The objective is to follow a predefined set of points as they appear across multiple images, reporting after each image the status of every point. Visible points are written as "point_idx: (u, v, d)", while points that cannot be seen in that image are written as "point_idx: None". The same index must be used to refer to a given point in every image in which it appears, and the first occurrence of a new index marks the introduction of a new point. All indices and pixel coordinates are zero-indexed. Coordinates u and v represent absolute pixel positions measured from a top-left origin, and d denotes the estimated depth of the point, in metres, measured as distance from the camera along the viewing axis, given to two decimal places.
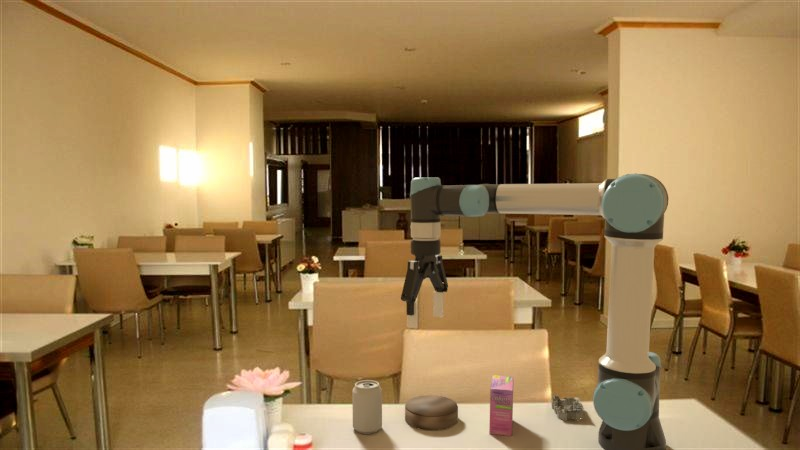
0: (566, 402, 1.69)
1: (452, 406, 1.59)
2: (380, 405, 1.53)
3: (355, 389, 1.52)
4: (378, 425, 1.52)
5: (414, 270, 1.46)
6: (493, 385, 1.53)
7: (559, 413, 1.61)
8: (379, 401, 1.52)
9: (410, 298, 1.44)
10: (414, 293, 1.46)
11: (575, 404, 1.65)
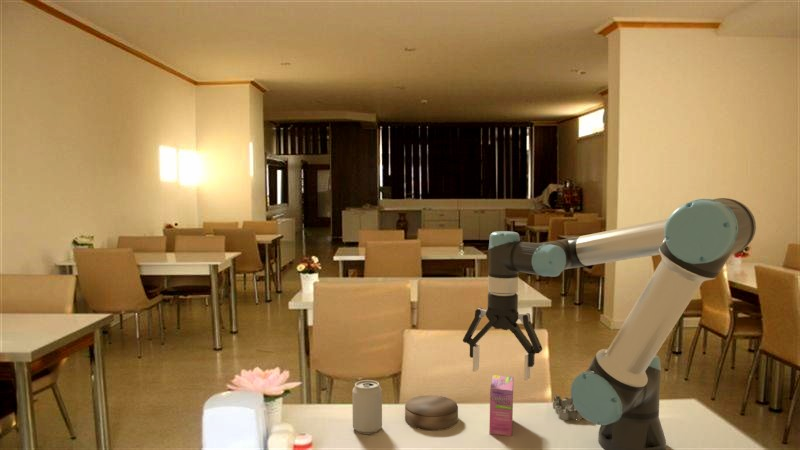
0: (567, 402, 1.69)
1: (452, 406, 1.59)
2: (380, 405, 1.53)
3: (355, 389, 1.52)
4: (378, 425, 1.52)
5: None
6: (493, 385, 1.53)
7: (560, 413, 1.61)
8: (379, 401, 1.52)
9: (464, 340, 1.57)
10: (473, 338, 1.57)
11: None
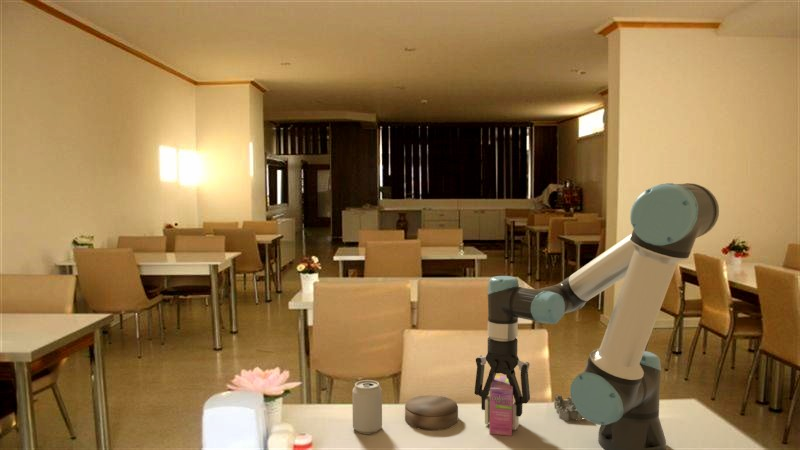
0: (569, 402, 1.69)
1: (452, 406, 1.59)
2: (380, 405, 1.53)
3: (355, 389, 1.52)
4: (378, 425, 1.52)
5: None
6: (493, 385, 1.53)
7: (560, 413, 1.61)
8: (379, 401, 1.52)
9: (475, 392, 1.57)
10: (483, 390, 1.56)
11: None
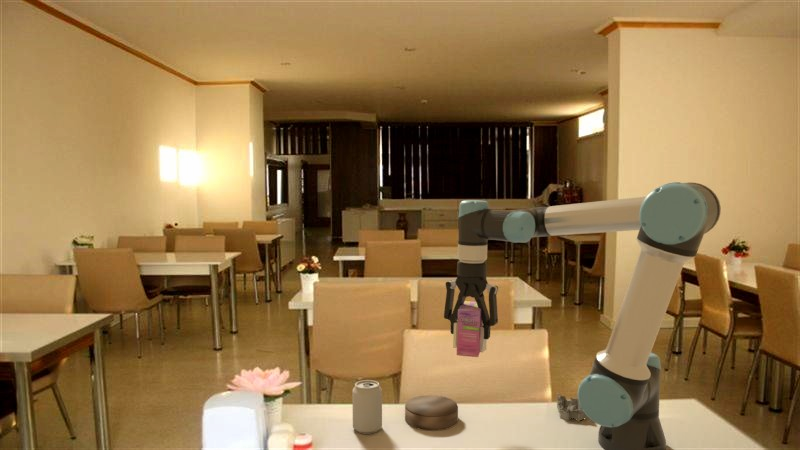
0: (572, 403, 1.69)
1: (452, 406, 1.59)
2: (380, 405, 1.53)
3: (355, 389, 1.52)
4: (378, 425, 1.52)
5: None
6: (462, 307, 1.54)
7: (561, 413, 1.61)
8: (379, 401, 1.52)
9: (445, 316, 1.58)
10: None
11: None
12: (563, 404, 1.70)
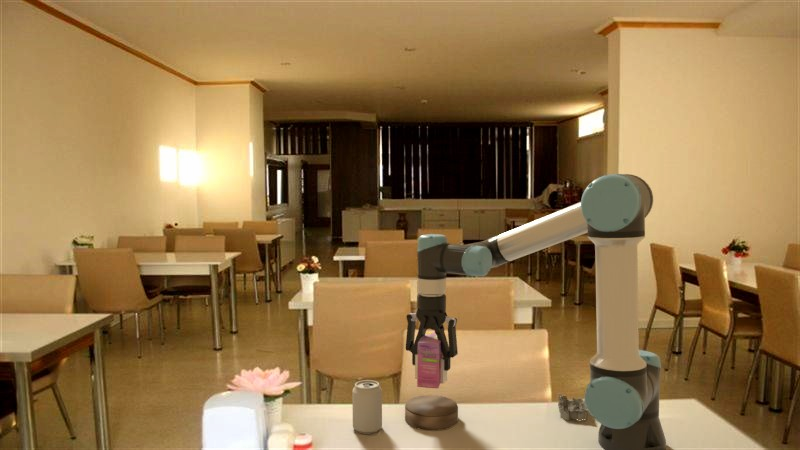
0: (574, 403, 1.68)
1: (452, 406, 1.59)
2: (380, 405, 1.53)
3: (355, 389, 1.52)
4: (378, 425, 1.52)
5: None
6: (422, 339, 1.57)
7: (561, 413, 1.61)
8: (379, 401, 1.52)
9: (406, 348, 1.61)
10: None
11: (581, 405, 1.65)
12: (565, 404, 1.70)
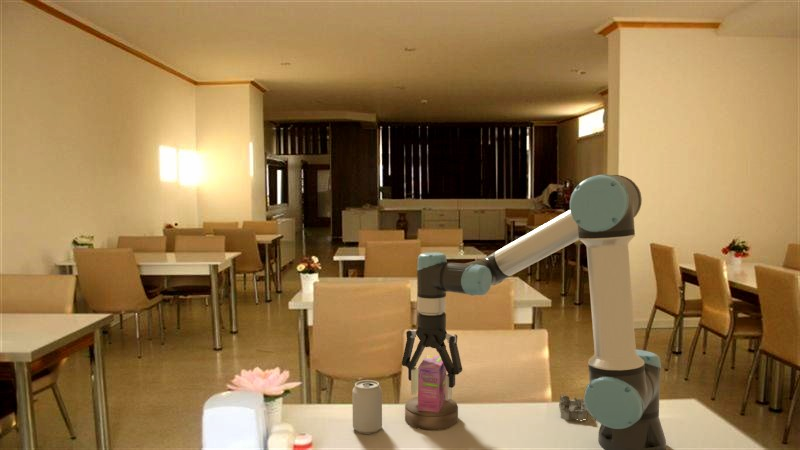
0: (575, 403, 1.68)
1: (452, 406, 1.59)
2: (380, 405, 1.53)
3: (355, 389, 1.52)
4: (378, 425, 1.52)
5: None
6: (423, 363, 1.57)
7: (562, 412, 1.61)
8: (379, 401, 1.52)
9: (402, 363, 1.62)
10: (410, 361, 1.61)
11: (582, 405, 1.64)
12: (567, 404, 1.69)
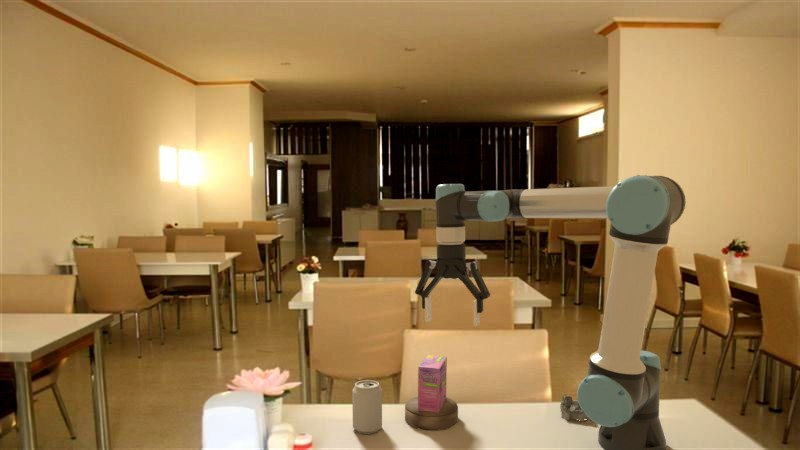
0: (578, 404, 1.68)
1: (452, 406, 1.59)
2: (380, 405, 1.53)
3: (355, 389, 1.52)
4: (378, 425, 1.52)
5: None
6: (423, 363, 1.57)
7: (562, 412, 1.61)
8: (379, 401, 1.52)
9: (416, 292, 1.62)
10: (425, 289, 1.61)
11: None
12: (569, 404, 1.69)
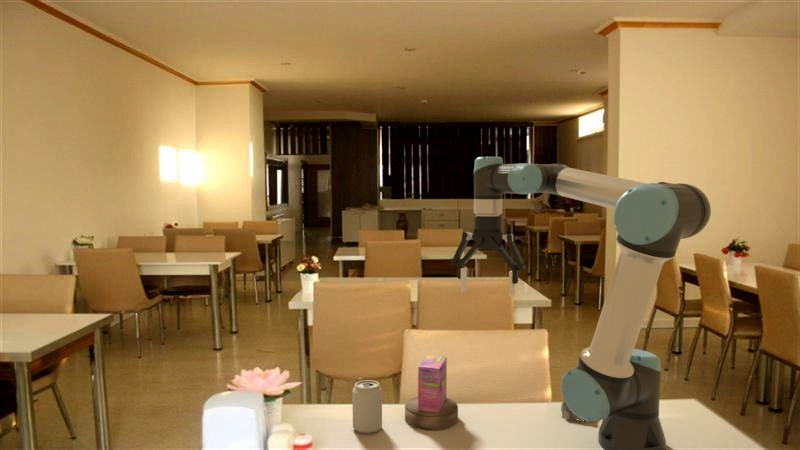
0: None
1: (452, 406, 1.59)
2: (380, 405, 1.53)
3: (355, 389, 1.52)
4: (378, 425, 1.52)
5: None
6: (423, 363, 1.57)
7: (563, 412, 1.61)
8: (379, 401, 1.52)
9: (452, 262, 1.66)
10: (461, 260, 1.65)
11: None
12: None
